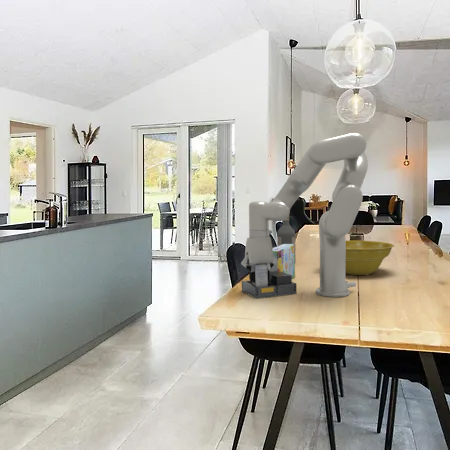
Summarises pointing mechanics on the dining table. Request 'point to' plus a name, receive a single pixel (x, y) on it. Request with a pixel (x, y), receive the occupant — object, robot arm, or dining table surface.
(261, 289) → the rack
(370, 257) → the planter bowl
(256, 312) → the dining table surface
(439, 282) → the dining table surface
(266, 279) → the medicine box
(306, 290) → the dining table surface
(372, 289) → the dining table surface
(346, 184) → the robot arm
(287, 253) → the snack box
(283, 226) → the liquor
